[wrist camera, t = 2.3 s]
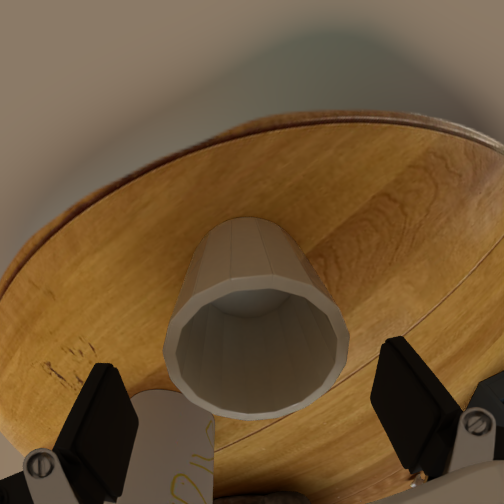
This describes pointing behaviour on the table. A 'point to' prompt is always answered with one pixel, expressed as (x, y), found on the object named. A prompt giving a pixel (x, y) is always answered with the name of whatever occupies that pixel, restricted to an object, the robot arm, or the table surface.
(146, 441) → the cup
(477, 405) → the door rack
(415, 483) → the figurine
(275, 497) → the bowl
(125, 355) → the table surface
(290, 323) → the cream cup
